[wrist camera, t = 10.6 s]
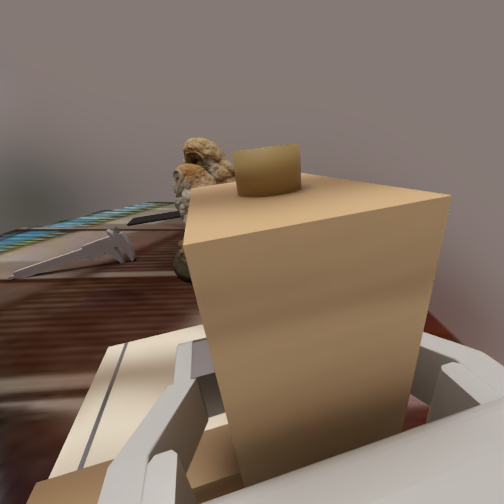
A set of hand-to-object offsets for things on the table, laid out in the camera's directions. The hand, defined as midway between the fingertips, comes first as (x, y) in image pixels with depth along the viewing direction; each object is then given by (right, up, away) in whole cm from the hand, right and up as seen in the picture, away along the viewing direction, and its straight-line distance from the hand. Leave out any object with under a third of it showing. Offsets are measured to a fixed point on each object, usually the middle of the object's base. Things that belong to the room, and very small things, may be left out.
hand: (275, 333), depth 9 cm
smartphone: (-28, +12, +58) cm, 66 cm away
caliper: (-30, 0, +30) cm, 43 cm away
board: (-5, -9, 0) cm, 11 cm away
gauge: (-3, -8, +2) cm, 9 cm away
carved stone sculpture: (-7, +2, +29) cm, 29 cm away
